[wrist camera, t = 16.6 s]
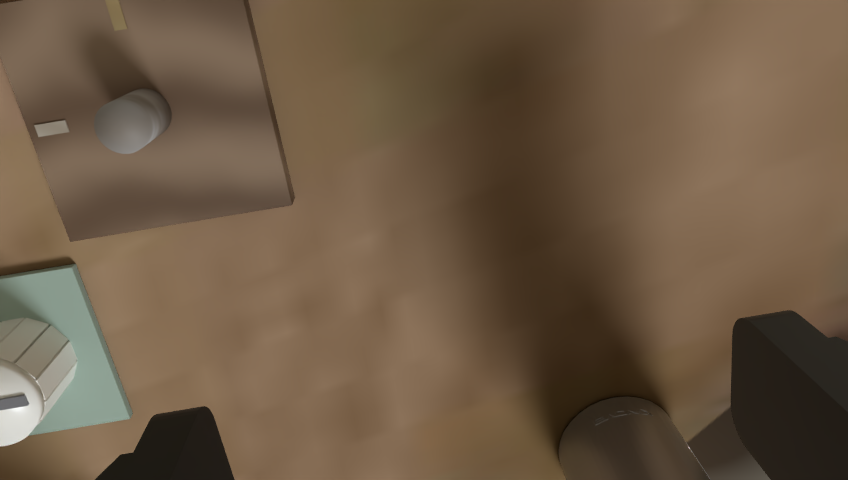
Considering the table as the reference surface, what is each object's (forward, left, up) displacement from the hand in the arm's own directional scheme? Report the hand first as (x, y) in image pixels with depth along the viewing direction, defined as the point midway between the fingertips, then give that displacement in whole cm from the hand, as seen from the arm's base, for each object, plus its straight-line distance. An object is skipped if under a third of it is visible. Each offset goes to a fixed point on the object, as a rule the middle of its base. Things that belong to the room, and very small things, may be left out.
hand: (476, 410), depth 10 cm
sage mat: (-14, +28, -33) cm, 46 cm away
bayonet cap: (-14, +28, -32) cm, 45 cm away
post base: (+1, +15, -33) cm, 36 cm away
